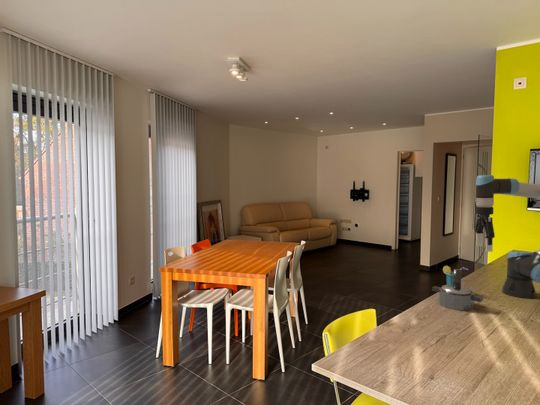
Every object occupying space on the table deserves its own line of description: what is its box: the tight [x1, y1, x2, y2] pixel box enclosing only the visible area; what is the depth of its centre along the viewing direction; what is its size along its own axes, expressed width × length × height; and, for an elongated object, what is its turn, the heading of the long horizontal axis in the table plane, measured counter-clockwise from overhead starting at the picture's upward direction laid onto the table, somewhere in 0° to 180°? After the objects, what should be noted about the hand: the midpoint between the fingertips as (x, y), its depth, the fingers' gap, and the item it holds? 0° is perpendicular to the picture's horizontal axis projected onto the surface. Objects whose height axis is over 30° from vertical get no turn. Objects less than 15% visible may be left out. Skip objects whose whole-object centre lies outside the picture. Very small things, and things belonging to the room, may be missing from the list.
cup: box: [442, 265, 470, 285], centre depth 199 cm, size 14×8×15 cm, turn 44°
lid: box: [441, 268, 472, 295], centre depth 179 cm, size 13×13×10 cm
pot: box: [431, 285, 484, 311], centre depth 180 cm, size 23×15×7 cm, turn 42°
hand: (484, 248), depth 183 cm, fingers open, 13 cm apart
